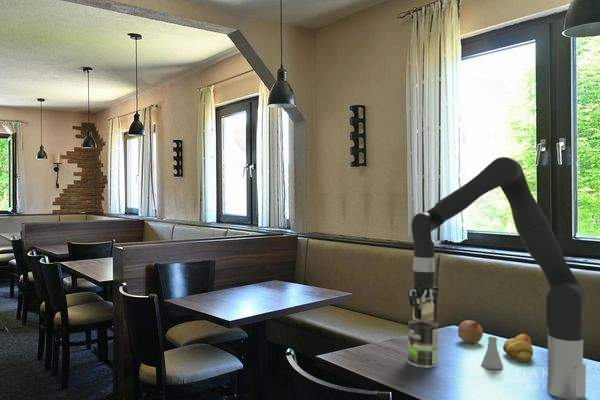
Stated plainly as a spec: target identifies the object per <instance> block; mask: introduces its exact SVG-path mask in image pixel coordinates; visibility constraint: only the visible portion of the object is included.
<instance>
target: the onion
mask: <svg viewBox="0 0 600 400" xmlns="http://www.w3.org/2000/svg"><path fill="white" fill-rule="evenodd" d="M483 334H484V331H483V328H482V327H481V325H480V324H479V323H478V322H477V321H475V320H470V319H469V320H468V319H467V320H464V321H462V322H461V323H460V324H459V325H458V328H457V336H458V338H460V339H461V340H462V341H463V343H465V344H471V345H472V344H473V345H474V344H478V343H479V342H480V341H481V340H482V338H483Z"/></svg>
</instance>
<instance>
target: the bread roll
mask: <svg viewBox="0 0 600 400" xmlns="http://www.w3.org/2000/svg"><path fill="white" fill-rule="evenodd" d="M502 350H503V351H504V353H505V354H506V355H507V356H508V358H510V359H513V360H516V361H517V362H520V363H529V362H531V360H532V358H533V355H534V349H533V345H532V339H531V338H530V336H529V335H528V334H526V333H520V334H518V335H517V336H515V338H514V337H511V338H509V339H506V340H504V343H503V347H502Z"/></svg>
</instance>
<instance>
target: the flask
mask: <svg viewBox="0 0 600 400" xmlns="http://www.w3.org/2000/svg"><path fill="white" fill-rule="evenodd" d="M487 340H488V341H487V349H486V351H485V354H484V357H483V359H482V361H481V366H482V367H483V368H484V369H490V370H503V368H504V365H503V362H502V359H501V357H500V353H499V350H498V345H497V344H498V343H497V342H498V337H496V336H488V337H487Z"/></svg>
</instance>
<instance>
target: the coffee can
mask: <svg viewBox="0 0 600 400" xmlns="http://www.w3.org/2000/svg"><path fill="white" fill-rule="evenodd" d="M407 322H408V323H407V324H408V334H407V335H408V336H407V337H408V338H407V339H408V341H407V342H408V345H407V350H408V351H407V362H408V364H409V365H411V366H414V367H417V368H422V369H423V368H425V369H428V368H429V369H430V368H435V367H437V366H438V351H439V350H438V348H439V347H438V346H439V342H438V341H439V340H438V339H439V323H438V322H437V321H434V320H432V321H428V322H421V321H418V320H414V319H410V320H409V321H407Z"/></svg>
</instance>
